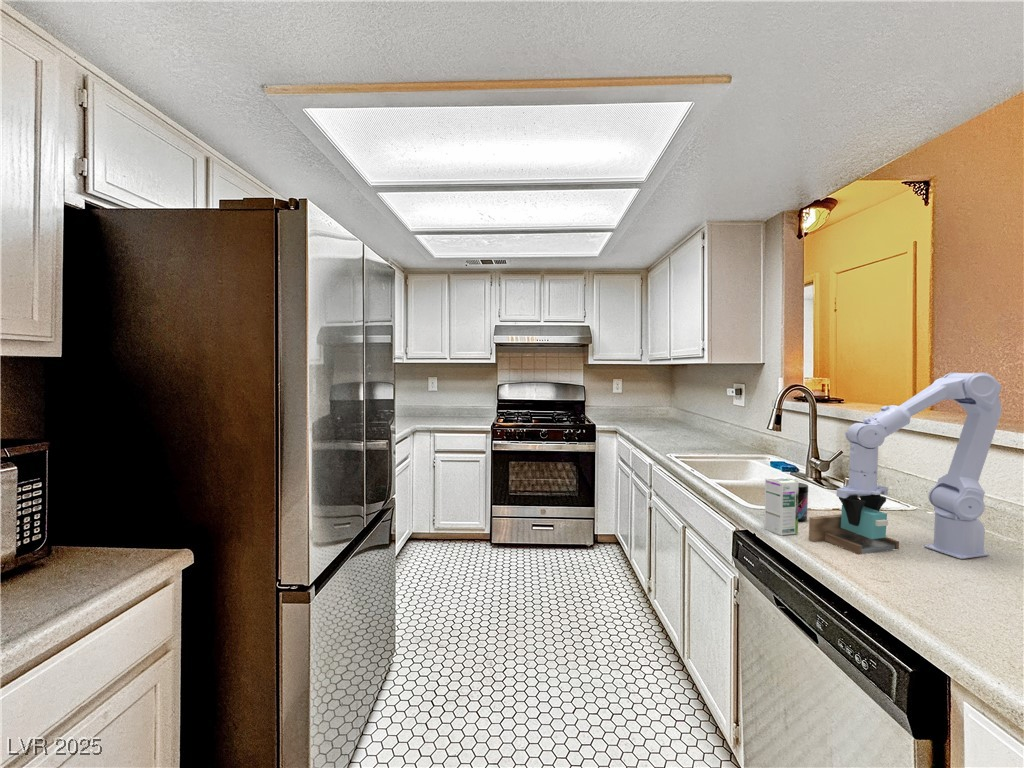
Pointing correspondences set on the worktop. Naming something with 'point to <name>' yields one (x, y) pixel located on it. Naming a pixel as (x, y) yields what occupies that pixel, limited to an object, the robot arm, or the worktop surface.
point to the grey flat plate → (868, 543)
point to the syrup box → (781, 506)
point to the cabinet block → (867, 523)
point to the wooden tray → (835, 533)
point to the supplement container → (802, 502)
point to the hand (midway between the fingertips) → (861, 523)
